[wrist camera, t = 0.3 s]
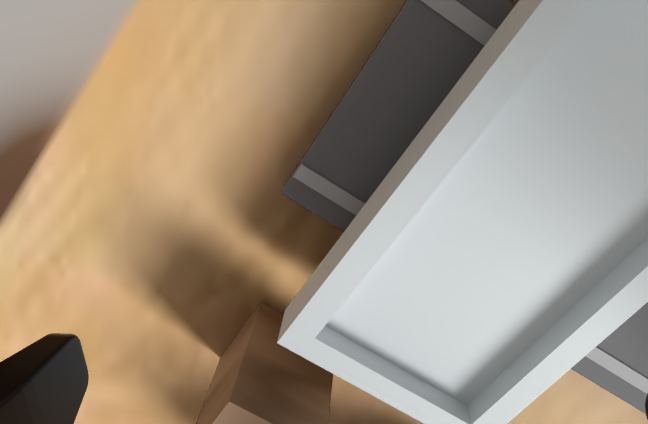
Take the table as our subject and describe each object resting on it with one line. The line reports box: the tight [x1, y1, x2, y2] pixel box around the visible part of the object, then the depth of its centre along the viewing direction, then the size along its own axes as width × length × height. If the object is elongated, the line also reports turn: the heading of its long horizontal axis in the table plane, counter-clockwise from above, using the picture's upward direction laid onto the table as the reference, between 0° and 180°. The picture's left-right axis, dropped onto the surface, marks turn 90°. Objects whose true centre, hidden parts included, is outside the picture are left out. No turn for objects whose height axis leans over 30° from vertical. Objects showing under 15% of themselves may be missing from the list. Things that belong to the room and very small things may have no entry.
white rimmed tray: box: [277, 0, 648, 424], centre depth 19 cm, size 9×17×4 cm, turn 148°
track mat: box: [282, 0, 648, 414], centre depth 21 cm, size 22×10×1 cm, turn 58°
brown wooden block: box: [196, 302, 333, 424], centre depth 23 cm, size 4×4×6 cm
